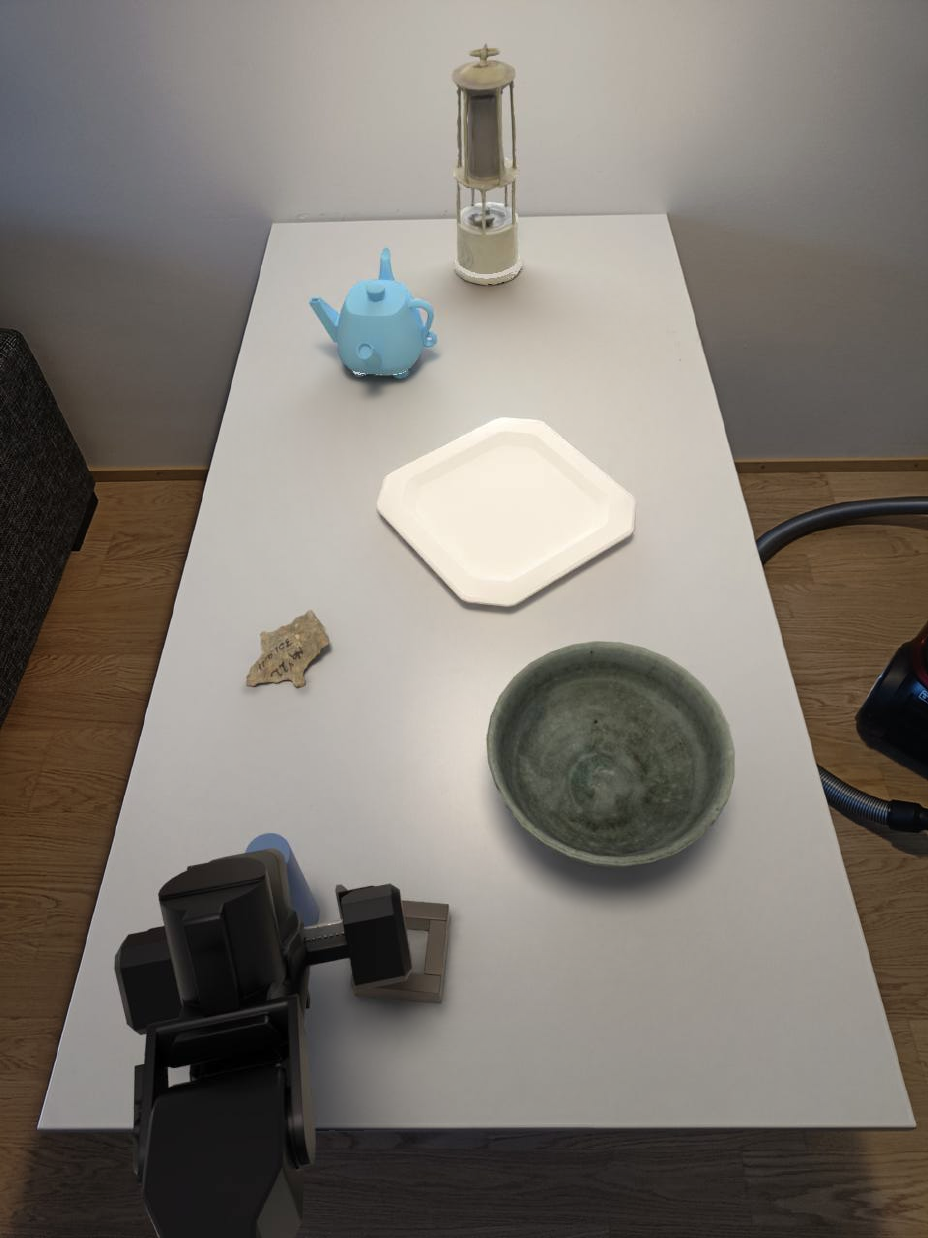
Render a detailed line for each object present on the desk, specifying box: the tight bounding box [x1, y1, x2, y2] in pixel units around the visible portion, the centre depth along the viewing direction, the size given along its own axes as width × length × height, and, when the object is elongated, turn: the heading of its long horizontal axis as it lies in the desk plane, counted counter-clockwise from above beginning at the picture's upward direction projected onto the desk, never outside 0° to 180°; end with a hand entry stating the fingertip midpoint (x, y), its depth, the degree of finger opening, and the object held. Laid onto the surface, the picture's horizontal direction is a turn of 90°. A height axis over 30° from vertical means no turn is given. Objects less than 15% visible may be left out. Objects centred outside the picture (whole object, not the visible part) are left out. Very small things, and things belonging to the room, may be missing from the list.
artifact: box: [245, 609, 331, 688], centre depth 91 cm, size 7×3×10 cm
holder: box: [349, 899, 451, 1004], centre depth 72 cm, size 7×7×3 cm
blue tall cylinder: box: [244, 832, 320, 927], centre depth 70 cm, size 3×3×14 cm
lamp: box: [451, 42, 524, 286], centre depth 124 cm, size 10×13×30 cm
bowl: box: [485, 640, 736, 868], centre depth 78 cm, size 21×21×10 cm
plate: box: [375, 416, 637, 608], centre depth 103 cm, size 25×25×2 cm
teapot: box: [308, 247, 438, 380], centre depth 118 cm, size 15×14×11 cm
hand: (279, 902), depth 67 cm, fingers open, 9 cm apart
